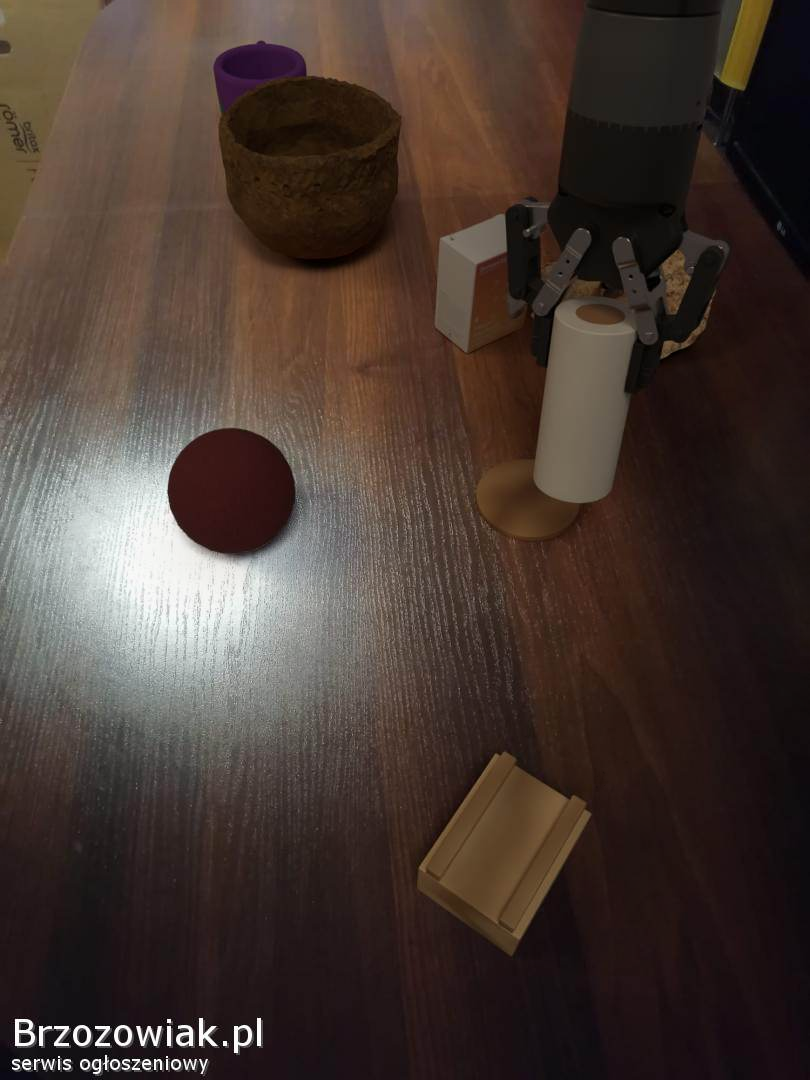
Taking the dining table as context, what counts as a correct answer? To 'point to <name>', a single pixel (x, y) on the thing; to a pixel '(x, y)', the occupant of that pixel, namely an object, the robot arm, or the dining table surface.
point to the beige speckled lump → (674, 294)
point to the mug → (253, 69)
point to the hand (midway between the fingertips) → (590, 375)
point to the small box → (476, 287)
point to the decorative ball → (231, 490)
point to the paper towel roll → (584, 398)
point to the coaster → (521, 503)
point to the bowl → (311, 164)
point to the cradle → (502, 852)
